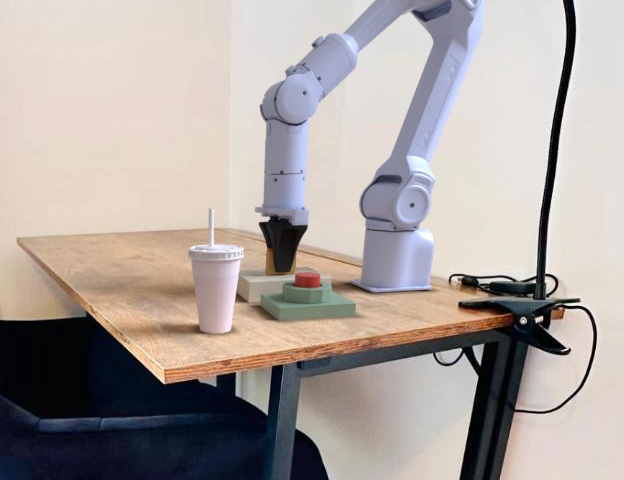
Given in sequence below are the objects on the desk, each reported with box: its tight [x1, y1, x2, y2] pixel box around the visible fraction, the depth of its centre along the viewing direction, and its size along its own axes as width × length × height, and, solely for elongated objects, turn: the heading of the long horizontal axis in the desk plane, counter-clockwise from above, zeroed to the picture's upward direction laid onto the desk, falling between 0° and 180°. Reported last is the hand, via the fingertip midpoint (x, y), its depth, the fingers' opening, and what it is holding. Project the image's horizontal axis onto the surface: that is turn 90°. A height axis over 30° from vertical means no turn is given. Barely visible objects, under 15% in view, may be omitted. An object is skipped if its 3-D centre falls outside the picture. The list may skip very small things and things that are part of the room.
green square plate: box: [259, 281, 357, 321], centre depth 72 cm, size 10×8×4 cm
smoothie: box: [187, 208, 245, 334], centre depth 64 cm, size 6×6×14 cm
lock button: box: [295, 272, 321, 288], centre depth 72 cm, size 3×3×2 cm
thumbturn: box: [265, 248, 298, 275], centre depth 81 cm, size 4×1×4 cm, turn 98°
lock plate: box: [236, 266, 332, 303], centre depth 82 cm, size 12×9×3 cm
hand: (280, 270), depth 82 cm, fingers closed
